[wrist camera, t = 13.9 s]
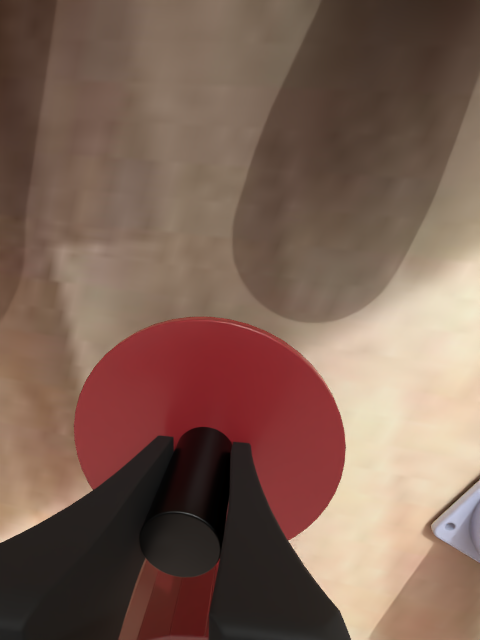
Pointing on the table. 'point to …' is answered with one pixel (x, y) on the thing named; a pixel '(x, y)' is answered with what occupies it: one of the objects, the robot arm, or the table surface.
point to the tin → (169, 606)
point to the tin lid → (211, 430)
